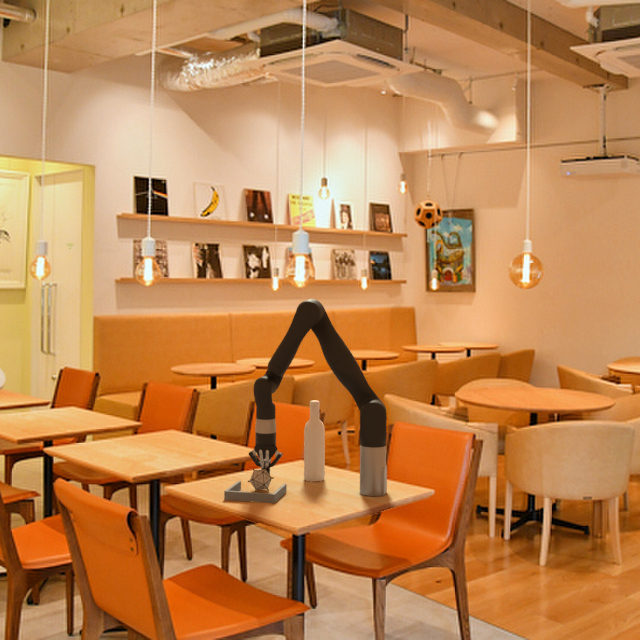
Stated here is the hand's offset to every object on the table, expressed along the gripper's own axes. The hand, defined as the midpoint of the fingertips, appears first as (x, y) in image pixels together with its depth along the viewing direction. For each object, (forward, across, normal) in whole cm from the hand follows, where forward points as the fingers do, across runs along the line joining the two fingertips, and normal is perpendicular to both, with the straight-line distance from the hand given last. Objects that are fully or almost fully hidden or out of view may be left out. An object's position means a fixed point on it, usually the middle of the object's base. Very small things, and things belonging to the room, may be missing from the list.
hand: (265, 477), depth 305 cm
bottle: (+4, -14, -17) cm, 22 cm away
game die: (+4, 0, +5) cm, 6 cm away
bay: (+4, 0, +12) cm, 13 cm away
